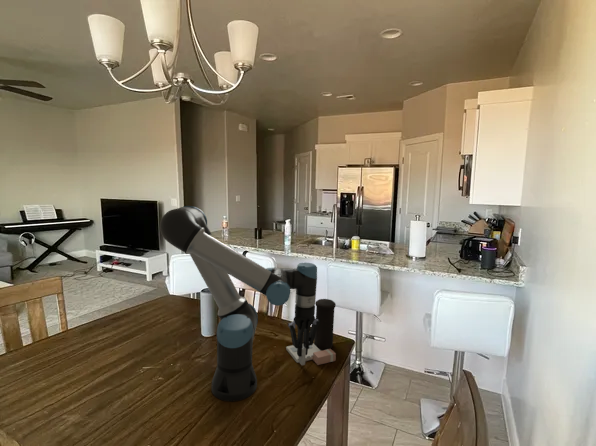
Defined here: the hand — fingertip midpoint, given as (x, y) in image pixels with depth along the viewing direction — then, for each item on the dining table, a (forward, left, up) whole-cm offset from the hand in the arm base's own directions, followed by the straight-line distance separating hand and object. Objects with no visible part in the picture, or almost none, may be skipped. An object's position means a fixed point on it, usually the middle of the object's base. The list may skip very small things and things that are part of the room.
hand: (301, 363), depth 123 cm
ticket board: (+5, +8, -1) cm, 9 cm away
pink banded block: (+10, 0, -1) cm, 10 cm away
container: (+16, +10, -1) cm, 19 cm away
